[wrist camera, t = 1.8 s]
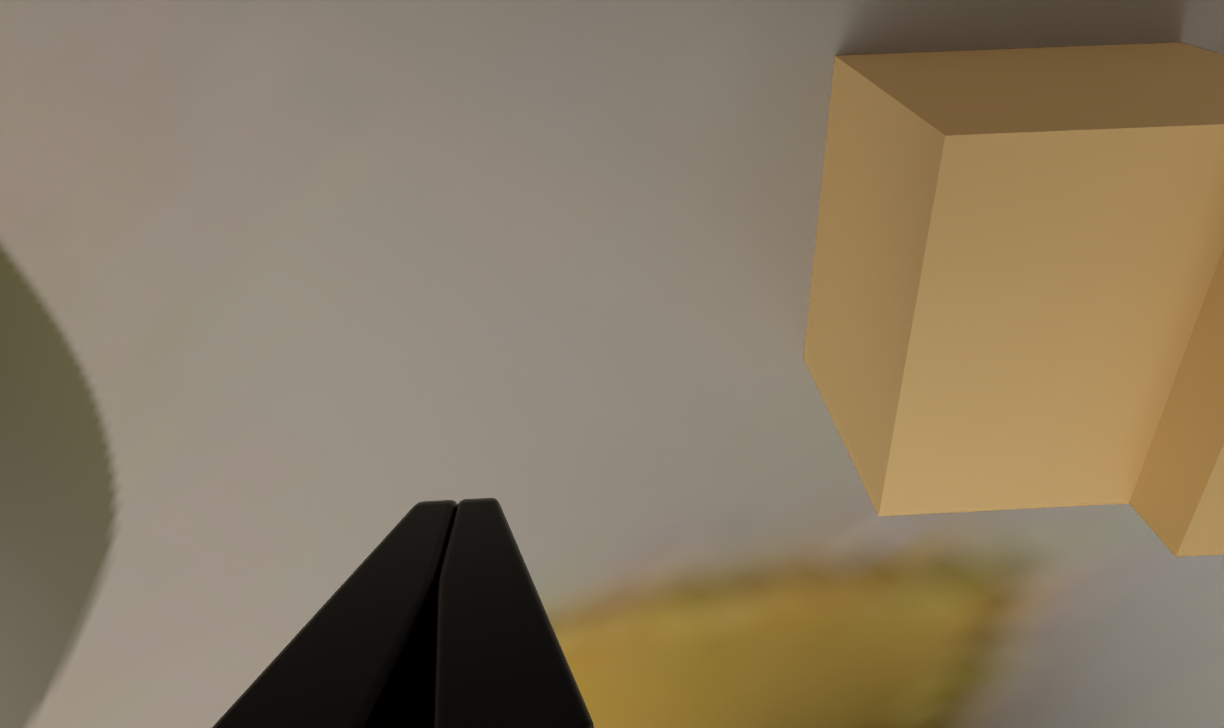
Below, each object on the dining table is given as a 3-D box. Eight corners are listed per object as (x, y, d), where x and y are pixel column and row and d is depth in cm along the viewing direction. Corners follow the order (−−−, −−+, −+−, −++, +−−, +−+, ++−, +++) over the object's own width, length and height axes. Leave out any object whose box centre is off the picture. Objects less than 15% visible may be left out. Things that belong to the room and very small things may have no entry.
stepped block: (1086, 343, 18) (1309, 550, 12) (802, 356, 18) (904, 571, 12) (1176, 41, 15) (1525, 144, 9) (833, 54, 14) (987, 166, 9)
